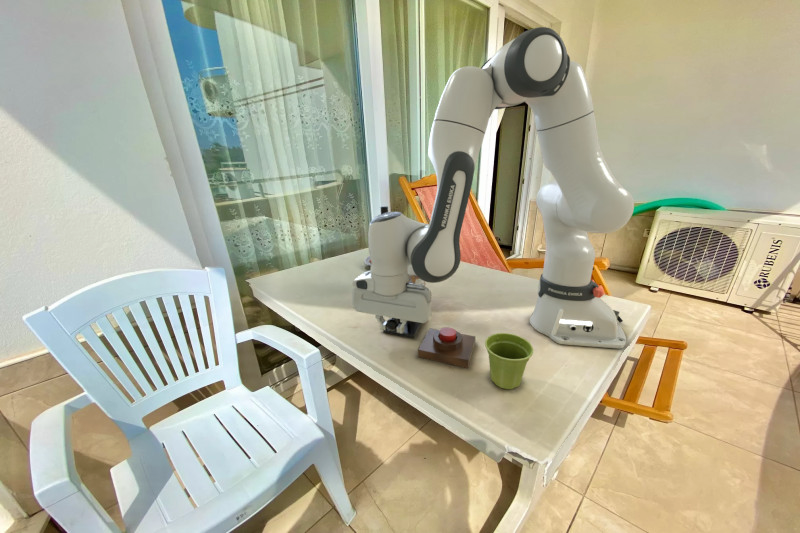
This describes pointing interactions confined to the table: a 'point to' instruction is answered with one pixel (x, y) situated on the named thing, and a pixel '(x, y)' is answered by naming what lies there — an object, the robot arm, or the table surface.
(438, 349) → the button block
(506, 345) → the plant pot
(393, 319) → the lever
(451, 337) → the button
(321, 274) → the table surface
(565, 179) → the robot arm
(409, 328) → the tap bracket
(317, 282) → the table surface
